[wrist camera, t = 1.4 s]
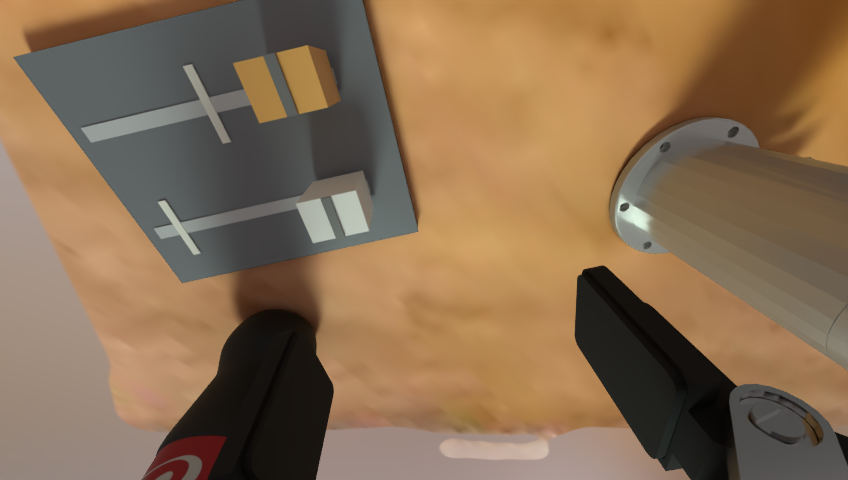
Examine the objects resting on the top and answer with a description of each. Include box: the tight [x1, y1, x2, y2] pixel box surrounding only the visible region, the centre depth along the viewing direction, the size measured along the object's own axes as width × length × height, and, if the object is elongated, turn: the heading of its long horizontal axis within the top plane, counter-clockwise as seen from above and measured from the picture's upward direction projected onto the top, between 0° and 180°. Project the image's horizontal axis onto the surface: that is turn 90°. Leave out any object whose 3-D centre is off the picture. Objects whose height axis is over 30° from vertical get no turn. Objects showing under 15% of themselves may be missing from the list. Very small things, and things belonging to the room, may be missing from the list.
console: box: [13, 0, 418, 283], centre depth 24 cm, size 22×18×1 cm
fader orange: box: [233, 45, 341, 123], centre depth 18 cm, size 4×3×5 cm
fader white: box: [296, 170, 374, 243], centre depth 22 cm, size 4×3×5 cm
